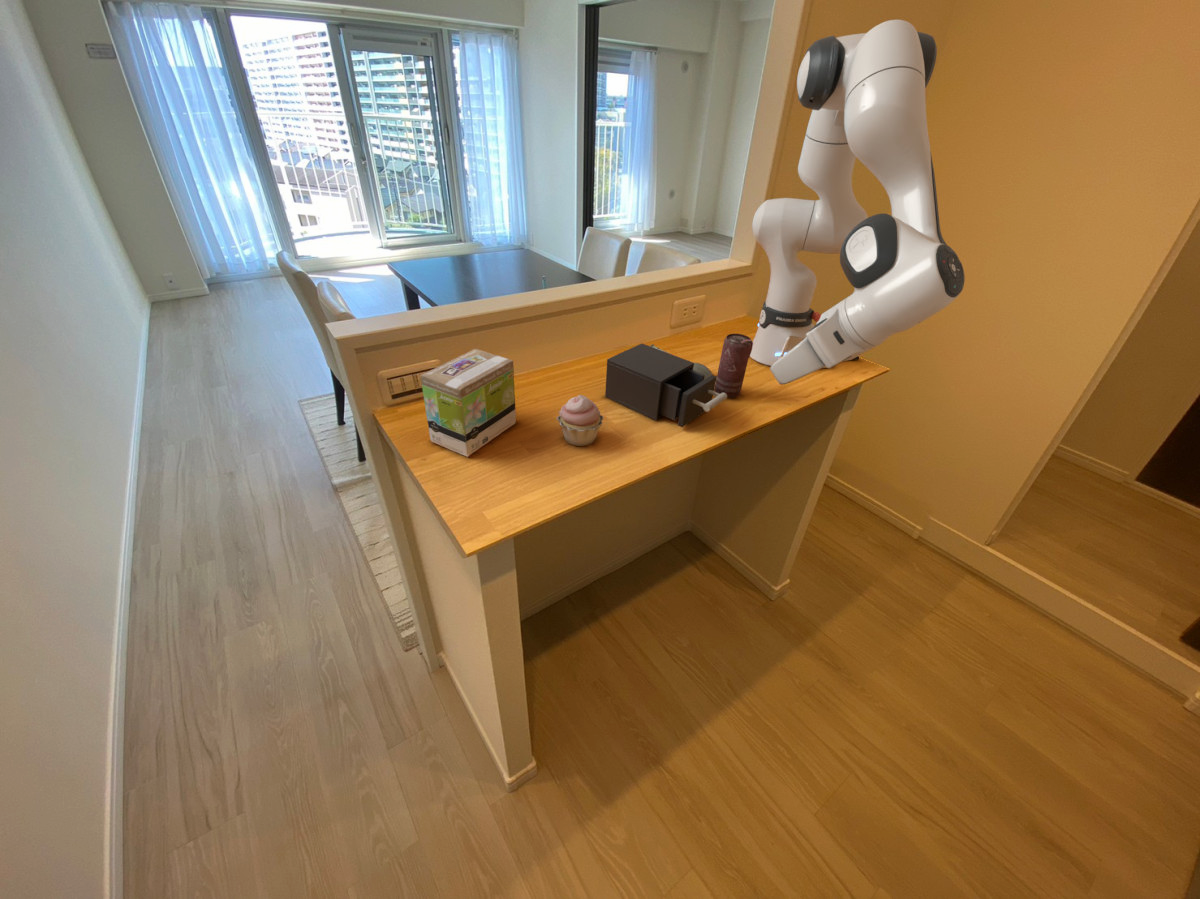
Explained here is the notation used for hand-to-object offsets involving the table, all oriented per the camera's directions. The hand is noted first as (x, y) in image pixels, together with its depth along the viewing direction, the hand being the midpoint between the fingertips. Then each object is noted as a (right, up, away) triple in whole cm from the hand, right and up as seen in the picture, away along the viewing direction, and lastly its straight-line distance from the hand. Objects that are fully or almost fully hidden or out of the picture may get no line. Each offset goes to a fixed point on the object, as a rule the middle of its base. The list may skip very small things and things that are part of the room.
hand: (778, 371), depth 89 cm
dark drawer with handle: (-15, -5, +20) cm, 25 cm away
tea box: (-58, -11, +11) cm, 60 cm away
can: (-2, -1, +29) cm, 29 cm away
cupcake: (-37, -12, +11) cm, 40 cm away
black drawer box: (-22, -2, +25) cm, 33 cm away
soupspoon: (-12, +8, +40) cm, 43 cm away
